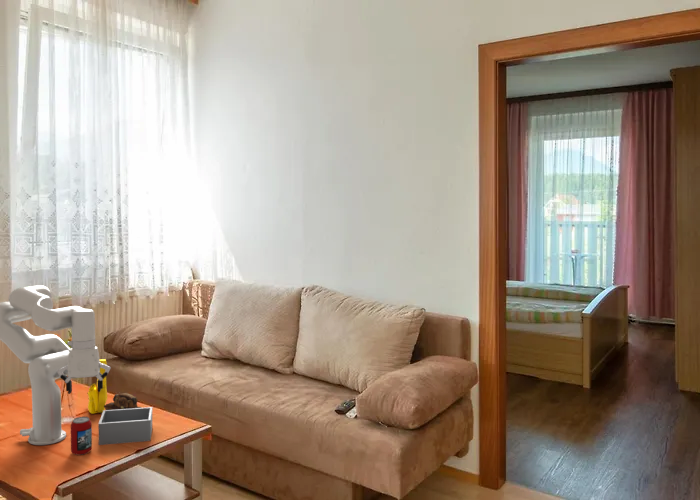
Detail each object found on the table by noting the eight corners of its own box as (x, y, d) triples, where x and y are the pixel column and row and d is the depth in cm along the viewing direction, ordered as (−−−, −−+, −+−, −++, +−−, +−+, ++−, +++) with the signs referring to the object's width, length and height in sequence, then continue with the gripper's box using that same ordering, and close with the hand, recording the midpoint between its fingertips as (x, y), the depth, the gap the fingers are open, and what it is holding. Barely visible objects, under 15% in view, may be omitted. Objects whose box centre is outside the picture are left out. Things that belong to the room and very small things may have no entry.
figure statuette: (84, 406, 253) (83, 356, 251) (103, 403, 257) (103, 354, 256) (91, 420, 238) (90, 367, 236) (111, 416, 243) (111, 364, 241)
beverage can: (83, 457, 205) (83, 423, 204) (66, 455, 206) (66, 421, 205) (95, 449, 211) (95, 416, 210) (79, 447, 213) (78, 415, 212)
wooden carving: (101, 418, 240) (101, 394, 239) (107, 414, 245) (107, 391, 244) (138, 421, 238) (138, 397, 237) (144, 417, 242) (144, 394, 241)
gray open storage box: (98, 445, 215) (98, 423, 214) (103, 430, 228) (103, 410, 227) (150, 440, 220) (150, 420, 219) (152, 426, 233) (152, 407, 232)
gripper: (54, 348, 201) (55, 397, 202) (108, 345, 205) (109, 393, 207) (59, 343, 208) (60, 390, 209) (111, 340, 213) (112, 386, 214)
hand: (84, 391), depth 208 cm, fingers open, 9 cm apart
